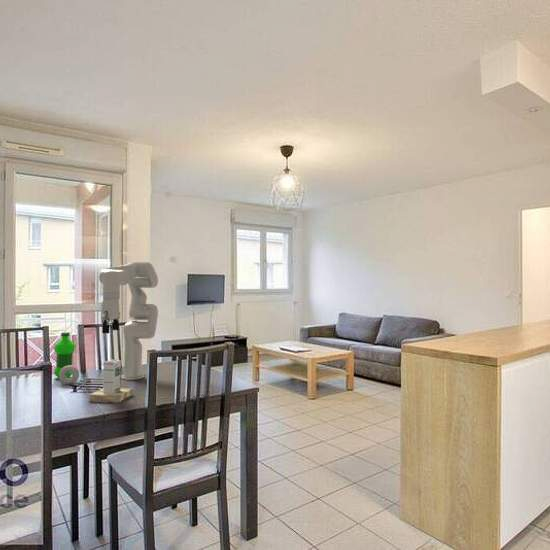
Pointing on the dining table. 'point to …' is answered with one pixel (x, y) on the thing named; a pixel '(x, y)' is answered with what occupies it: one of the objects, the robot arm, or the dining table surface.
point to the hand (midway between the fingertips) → (110, 331)
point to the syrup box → (112, 376)
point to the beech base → (110, 395)
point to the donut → (64, 378)
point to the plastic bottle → (64, 353)
